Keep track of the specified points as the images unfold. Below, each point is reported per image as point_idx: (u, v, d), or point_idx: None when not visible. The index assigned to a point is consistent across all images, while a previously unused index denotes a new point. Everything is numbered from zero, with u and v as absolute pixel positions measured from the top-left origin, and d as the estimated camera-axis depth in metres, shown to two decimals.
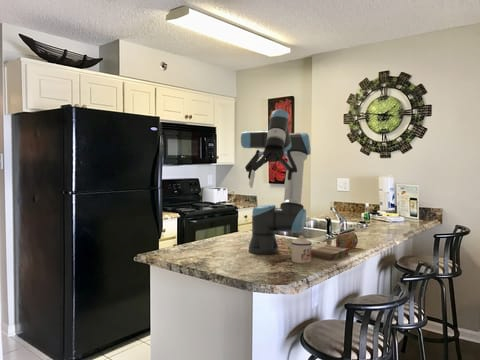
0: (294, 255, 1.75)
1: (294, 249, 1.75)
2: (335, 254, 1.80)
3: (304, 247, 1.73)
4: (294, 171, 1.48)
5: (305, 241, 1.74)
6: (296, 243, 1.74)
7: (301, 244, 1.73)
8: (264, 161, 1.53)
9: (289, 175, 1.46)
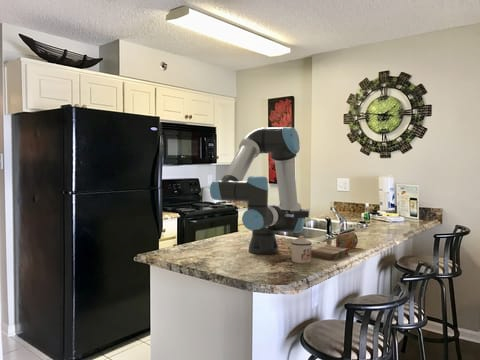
0: (294, 255, 1.75)
1: (294, 249, 1.75)
2: (335, 254, 1.80)
3: (304, 247, 1.73)
4: None
5: (305, 241, 1.74)
6: (296, 243, 1.74)
7: (301, 244, 1.73)
8: None
9: None
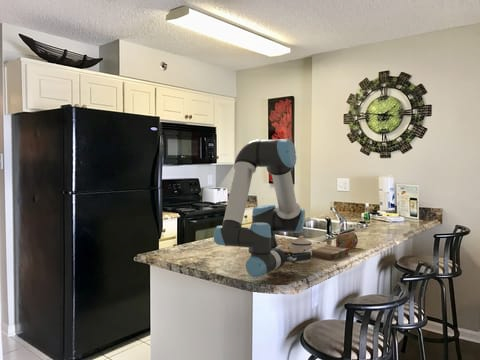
0: None
1: (294, 249, 1.75)
2: (335, 254, 1.80)
3: (304, 247, 1.73)
4: None
5: (305, 241, 1.74)
6: (296, 243, 1.74)
7: (301, 244, 1.73)
8: None
9: None
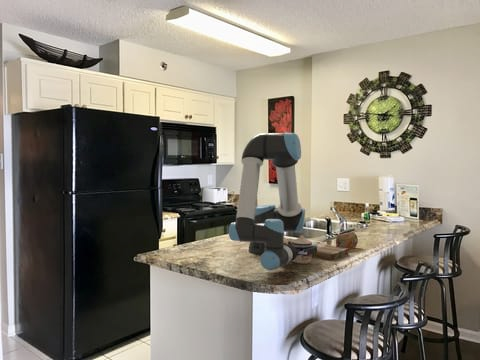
0: None
1: None
2: (335, 254, 1.80)
3: None
4: None
5: (306, 241, 1.74)
6: (296, 243, 1.74)
7: (301, 244, 1.73)
8: None
9: None
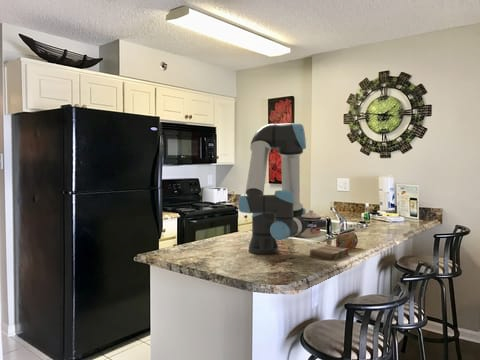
0: None
1: None
2: (335, 254, 1.80)
3: None
4: None
5: (314, 215, 1.75)
6: (305, 217, 1.75)
7: (310, 218, 1.74)
8: None
9: None
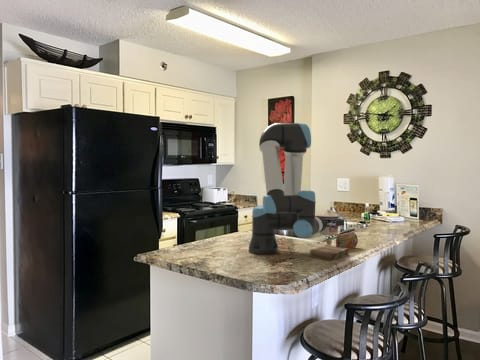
0: None
1: None
2: (335, 254, 1.80)
3: None
4: None
5: (333, 214, 1.83)
6: (324, 216, 1.83)
7: (329, 217, 1.82)
8: None
9: None
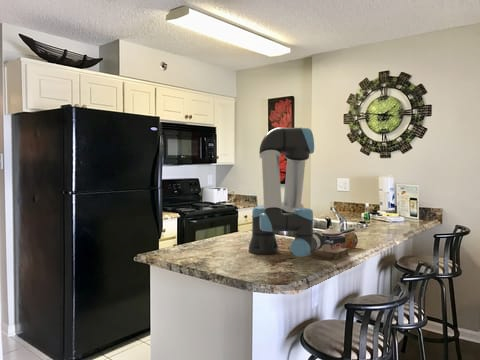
0: (324, 245, 1.82)
1: None
2: (335, 254, 1.80)
3: None
4: None
5: (334, 231, 1.81)
6: (325, 233, 1.81)
7: (330, 234, 1.80)
8: None
9: None
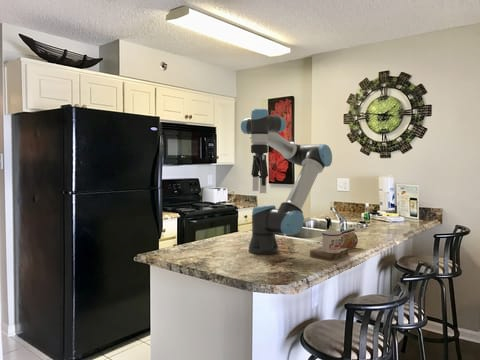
0: (323, 245, 1.82)
1: (323, 239, 1.82)
2: (335, 254, 1.80)
3: (331, 237, 1.79)
4: (265, 176, 1.64)
5: (334, 232, 1.80)
6: (324, 233, 1.81)
7: (329, 235, 1.79)
8: (258, 165, 1.75)
9: (262, 182, 1.65)
